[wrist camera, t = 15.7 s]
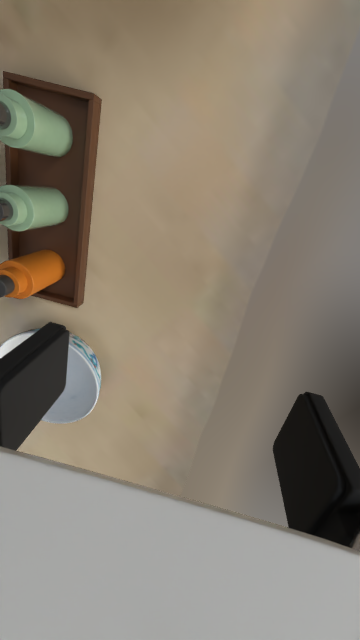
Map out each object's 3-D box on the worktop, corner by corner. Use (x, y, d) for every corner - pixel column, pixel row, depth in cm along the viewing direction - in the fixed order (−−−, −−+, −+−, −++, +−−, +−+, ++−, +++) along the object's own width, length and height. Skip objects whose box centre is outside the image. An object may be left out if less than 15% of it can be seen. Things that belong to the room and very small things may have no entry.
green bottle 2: (35, 182, 36) (-33, 177, 26) (69, 191, 36) (14, 190, 26) (34, 220, 38) (-29, 228, 28) (67, 228, 37) (15, 240, 28)
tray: (15, 77, 32) (2, 70, 30) (101, 99, 32) (94, 93, 30) (18, 285, 42) (9, 289, 41) (83, 303, 42) (77, 308, 40)
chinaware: (65, 291, 42) (34, 311, 35) (135, 362, 45) (119, 392, 38) (11, 345, 47) (-26, 371, 40) (77, 404, 50) (54, 438, 43)
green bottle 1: (35, 106, 32) (-42, 69, 23) (74, 116, 32) (12, 83, 23) (35, 152, 34) (-37, 135, 25) (71, 161, 34) (14, 148, 25)
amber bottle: (34, 245, 39) (-26, 261, 29) (66, 254, 39) (16, 273, 29) (34, 277, 41) (-23, 301, 31) (64, 285, 41) (16, 312, 31)
